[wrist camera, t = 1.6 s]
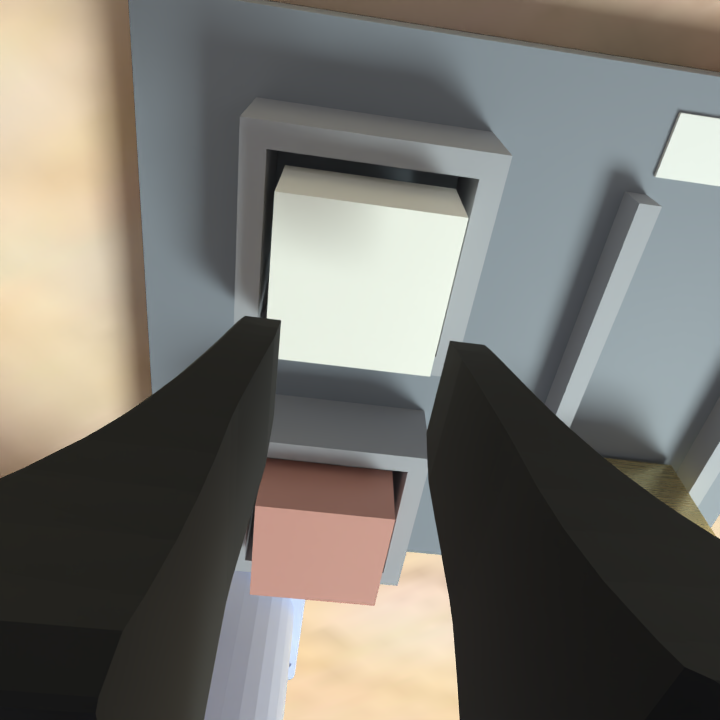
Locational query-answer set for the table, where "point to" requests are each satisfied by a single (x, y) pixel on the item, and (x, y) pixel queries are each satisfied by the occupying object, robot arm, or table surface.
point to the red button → (321, 531)
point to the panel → (482, 235)
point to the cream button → (362, 269)
